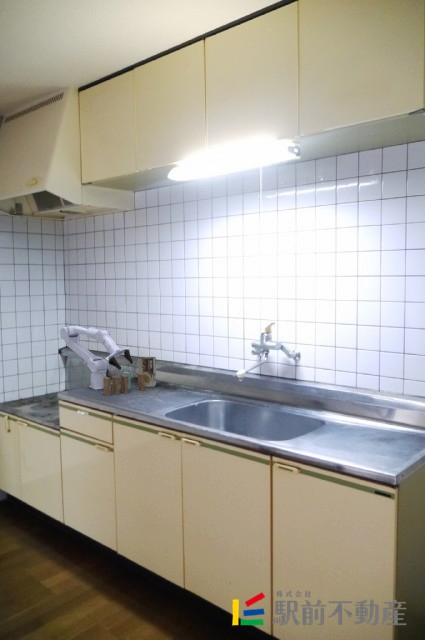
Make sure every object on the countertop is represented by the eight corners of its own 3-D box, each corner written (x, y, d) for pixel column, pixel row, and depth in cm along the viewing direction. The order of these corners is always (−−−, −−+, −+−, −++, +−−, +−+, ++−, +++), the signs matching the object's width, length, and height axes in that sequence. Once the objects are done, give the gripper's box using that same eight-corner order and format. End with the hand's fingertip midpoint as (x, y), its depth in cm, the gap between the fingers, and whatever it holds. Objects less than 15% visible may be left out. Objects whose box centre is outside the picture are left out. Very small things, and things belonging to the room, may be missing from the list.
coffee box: (156, 384, 293) (156, 356, 291) (154, 386, 286) (153, 358, 285) (140, 384, 293) (140, 356, 292) (138, 386, 287) (137, 358, 286)
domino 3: (127, 389, 279) (127, 373, 278) (123, 388, 283) (123, 372, 283) (130, 389, 280) (130, 373, 280) (126, 387, 284) (126, 371, 284)
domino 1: (107, 395, 264) (106, 378, 263) (103, 394, 268) (103, 377, 268) (110, 395, 265) (110, 378, 264) (107, 393, 269) (106, 376, 269)
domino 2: (116, 394, 267) (115, 377, 266) (112, 392, 271) (112, 376, 270) (119, 394, 268) (119, 377, 267) (115, 392, 272) (115, 375, 271)
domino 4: (125, 393, 270) (124, 376, 269) (121, 391, 274) (120, 375, 273) (128, 392, 271) (128, 376, 270) (124, 391, 275) (124, 374, 274)
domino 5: (142, 391, 275) (141, 374, 275) (137, 389, 279) (137, 373, 279) (145, 390, 276) (145, 374, 276) (141, 389, 281) (141, 372, 280)
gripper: (101, 348, 269) (116, 367, 265) (124, 338, 278) (138, 356, 273) (99, 356, 274) (114, 374, 270) (121, 345, 283) (136, 363, 279)
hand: (126, 365), depth 272 cm, fingers open, 7 cm apart
